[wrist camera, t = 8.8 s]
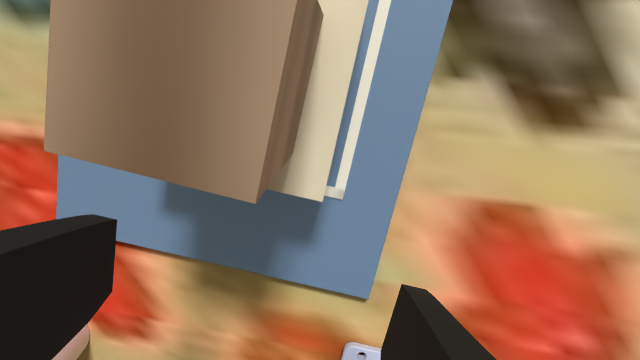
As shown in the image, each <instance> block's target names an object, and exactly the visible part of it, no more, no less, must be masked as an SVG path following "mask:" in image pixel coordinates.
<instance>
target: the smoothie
mask: <svg viewBox="0 0 640 360" xmlns="http://www.w3.org/2000/svg"><path fill="white" fill-rule="evenodd" d="M88 341H89V329H88V326H87V324H86V326H85V327H84V328H83V329H82V330H81V331H80V332H79V333H78V334H77V335H76V336H75V337H74V338H73V339H72V340H71V341H70V342H69V343H68V344H67V345H66V346H65V347H64V348H63V349H62V350H61V351H60V352H59V353H58V354H57V355H56V356H55V357H54V358H53V359H52V360H77V358H78V357H79V356H80V354H81V353H82V352H83V350H84V349H85V348H86V346H87V344H88Z"/></svg>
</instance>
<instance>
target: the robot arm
mask: <svg viewBox="0 0 640 360" xmlns="http://www.w3.org/2000/svg"><path fill="white" fill-rule="evenodd" d="M116 230H117V219H112V218H108V217H103V216H99V215H95V214H90V215H80V216H73V217H67V218H61V219H56V220H51V221H46V222H41V223H36V224H31V225H26V226H21V227H16V228H11V229H6V230H1V231H0V360H52V359H53V358H54V357H55V356H56V355H57V354H58V353H59V352H60V351H61V350H62V349H63V348H64V347H65V346H66V345H67V344H68V343H69V342H70V341H71V340H72V339H73V338H74V337H75V336H76V335H77V334H78V333H79V332H80V331H81V330H82V329H83V328H84V327H85V326H86V324H87V323H88V322H89V321H90V319H91V318H92V317H93V316H94V314H95V313H96V312H97V311H98V309H99V308H100V307H101V305H102V304H103V303H104V301H105V300H106V299H107V297H108V296H109V295H110V293H111V292H112V286H113V272H114V258H115V244H116ZM360 352H363V353H365V355H359V354H358V353H360ZM341 360H496V359H495V358H494V357H493V356H492V355H491V354H490V353H489V352H488V351H487V350H486V349H485V348H484V347H483V346H482V345H481V344H480V343H479V342H478V341H477V340H476V339H475V338H474V337H473V336H472V335H471V334H470V333H469V332H468V331H467V330H466V329H465V328H464V327H463V326H462V325H461V324H460V323H459V322H458V321H457V320H456V319H455V318H454V317H453V316H452V314H451V313H450V312H449V311H448V310H447V309H446V308H445V307H444V306H443V305H442V304H441V303H440V302H439V301H438V300H437V299H436V298H435V297H434V296H433V295H432V294H431V293H429V292H428V291H427V290H425V289H421V288H417V287H412V286H408V285H403V284H402V285H401V288H400V291H399V294H398V298H397V301H396V304H395V307H394V311H393V314H392V317H391V320H390V323H389V327H388V330H387V333H386V336H385V339H384V343H383V346H382V349H381V348H376V347H372V346H368V345H364V344H359V343H355V342H350V343H348V344H346V345H345V347H344V349H343V353H342V357H341Z"/></svg>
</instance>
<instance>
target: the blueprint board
mask: <svg viewBox="0 0 640 360" xmlns="http://www.w3.org/2000/svg"><path fill="white" fill-rule="evenodd" d="M452 2H453V0H369V1H368V6H367V10H366V14H365V19H364V23H363V27H362V32H361V36H360V41H359V45H358V49H357V54H356V58H355V62H354V67H353V71H352V75H351V80H350V84H349V88H348V93H347V97H346V102H345V106H344V110H343V115H342V119H341V123H340V128H339V132H338V136H337V141H336V145H335V150H334V154H333V158H332V163H331V167H330V171H329V176H328V180H327V184H326V189H325V193H324V198H323V202H320V201H316V200H312V199H307V198H303V197H299V196H294V195H290V194H286V193H281V192H277V191H272V190H268V189H266V190H265V192H264V193H263V194H262V196H261V197H260V198H259V200H258V201H257V202H256V204H254V203H250V202H246V201H242V200H238V199H234V198H230V197H226V196H222V195H218V194H214V193H210V192H206V191H202V190H198V189H194V188H190V187H186V186H182V185H178V184H174V183H170V182H166V181H162V180H158V179H154V178H150V177H147V176H143V175H139V174H135V173H131V172H127V171H123V170H119V169H115V168H111V167H107V166H103V165H99V164H95V163H91V162H87V161H83V160H79V159H75V158H71V157H67V156H63V155H59V154H58V182H57V211H56V219H61V218H67V217H73V216H80V215H90V214H95V215H99V216H103V217H108V218H112V219H117V230H116V241H120V242H124V243H129V244H133V245H137V246H141V247H146V248H150V249H154V250H159V251H163V252H167V253H172V254H176V255H180V256H184V257H189V258H193V259H197V260H202V261H206V262H210V263H214V264H219V265H223V266H227V267H232V268H236V269H240V270H245V271H249V272H253V273H257V274H262V275H266V276H270V277H275V278H279V279H283V280H287V281H292V282H296V283H300V284H305V285H309V286H313V287H318V288H322V289H326V290H330V291H335V292H339V293H343V294H348V295H352V296H356V297H360V298H365V299H369V295H370V291H371V288H372V284H373V281H374V277H375V274H376V270H377V267H378V263H379V260H380V256H381V253H382V249H383V246H384V242H385V239H386V235H387V231H388V228H389V224H390V221H391V217H392V214H393V210H394V207H395V203H396V200H397V196H398V193H399V189H400V186H401V182H402V179H403V175H404V171H405V168H406V164H407V161H408V157H409V154H410V150H411V147H412V143H413V140H414V136H415V133H416V129H417V126H418V122H419V119H420V115H421V111H422V108H423V104H424V101H425V97H426V94H427V90H428V87H429V83H430V80H431V76H432V73H433V69H434V66H435V62H436V59H437V55H438V51H439V48H440V44H441V41H442V37H443V34H444V30H445V27H446V23H447V20H448V16H449V13H450V9H451V6H452Z"/></svg>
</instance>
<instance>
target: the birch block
mask: <svg viewBox="0 0 640 360" xmlns="http://www.w3.org/2000/svg"><path fill="white" fill-rule="evenodd" d="M368 1H369V0H318V2H319V4H320V7H321V9H322V12H323V14H324V16H323V20H322V25H321V29H320V34H319V38H318V42H317V47H316V51H315V56H314V60H313V65H312V69H311V74H310V78H309V83H308V87H307V92H306V96H305V101H304V105H303V109H302V114H301V118H300V123H299V127H298V132H297V136H296V141H295V145H294V150H293V154H292V155H291V157H290V158H289V159H288V161H287V162H286V163H285V165H284V166H283V167H282V169H281V170H280V172H279V173H278V174H277V176H276V177H275V178H274V180H273V181H272V182H271V184H270V185H269V186H268V188H267V189H268V190H272V191H277V192H281V193H286V194H290V195H294V196H299V197H303V198H307V199H312V200H316V201H320V202H323V198H324V193H325V189H326V184H327V180H328V176H329V171H330V167H331V163H332V158H333V154H334V150H335V145H336V141H337V136H338V132H339V128H340V123H341V119H342V115H343V110H344V106H345V102H346V97H347V93H348V88H349V84H350V80H351V75H352V71H353V67H354V62H355V58H356V54H357V49H358V45H359V41H360V36H361V32H362V27H363V23H364V19H365V14H366V10H367V6H368Z"/></svg>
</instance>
